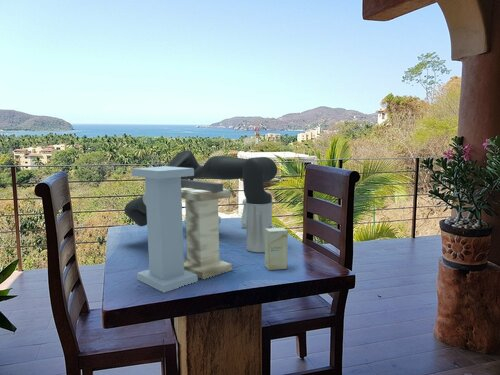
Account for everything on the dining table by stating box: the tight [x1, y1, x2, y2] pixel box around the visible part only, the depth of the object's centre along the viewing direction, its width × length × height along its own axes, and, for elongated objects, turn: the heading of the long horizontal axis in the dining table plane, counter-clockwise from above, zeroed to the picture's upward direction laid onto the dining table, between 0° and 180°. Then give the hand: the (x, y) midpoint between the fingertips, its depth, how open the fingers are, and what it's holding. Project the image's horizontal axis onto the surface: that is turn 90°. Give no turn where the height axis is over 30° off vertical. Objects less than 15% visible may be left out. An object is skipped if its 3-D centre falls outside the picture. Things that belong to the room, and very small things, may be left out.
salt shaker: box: [240, 198, 246, 229], centre depth 174 cm, size 6×6×13 cm
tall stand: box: [131, 165, 198, 294], centre depth 109 cm, size 14×11×32 cm
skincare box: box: [264, 227, 289, 271], centre depth 120 cm, size 6×4×12 cm
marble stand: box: [181, 187, 233, 280], centre depth 118 cm, size 14×11×25 cm
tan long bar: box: [181, 179, 224, 192], centre depth 119 cm, size 26×2×2 cm, turn 44°
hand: (180, 172), depth 124 cm, fingers open, 4 cm apart
